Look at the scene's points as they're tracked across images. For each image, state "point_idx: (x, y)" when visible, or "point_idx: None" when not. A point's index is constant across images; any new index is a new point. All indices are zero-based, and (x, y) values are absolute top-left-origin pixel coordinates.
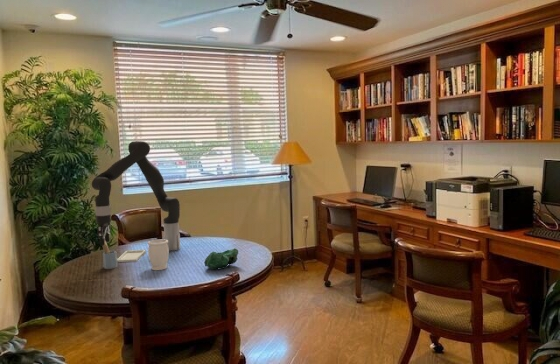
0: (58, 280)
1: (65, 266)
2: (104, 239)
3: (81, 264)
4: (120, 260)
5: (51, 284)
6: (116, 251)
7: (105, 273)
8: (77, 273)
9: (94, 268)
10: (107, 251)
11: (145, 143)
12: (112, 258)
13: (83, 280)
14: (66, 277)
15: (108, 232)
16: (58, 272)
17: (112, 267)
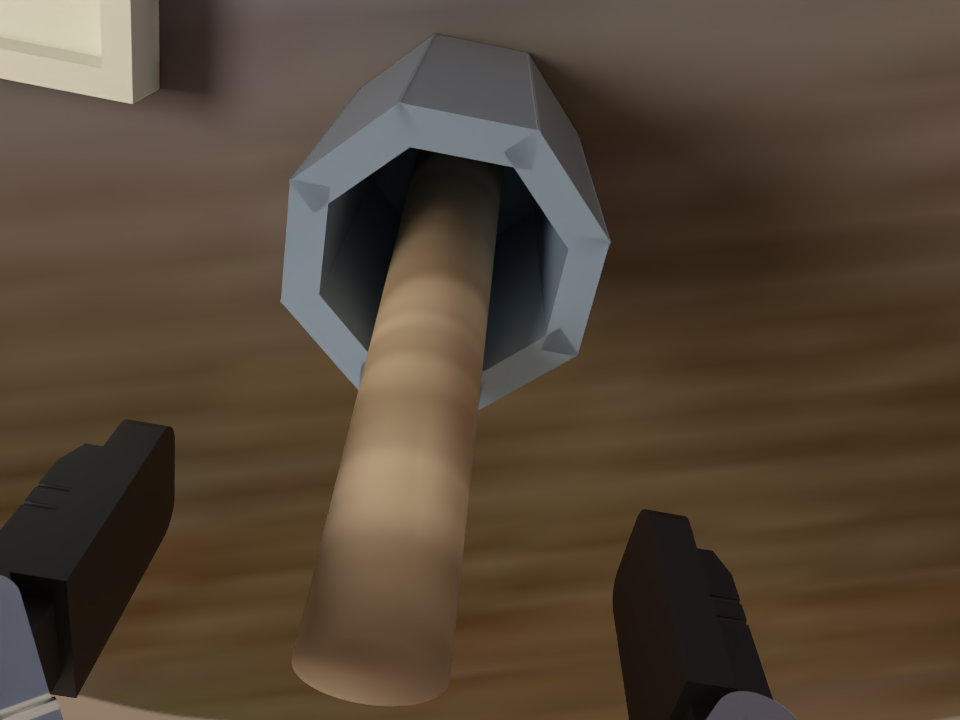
0: None
1: (183, 691)
2: (409, 613)
3: None
4: (134, 6)
5: (881, 707)
6: (402, 106)
7: (738, 208)
8: (553, 551)
9: None
10: (481, 331)
11: None
12: (576, 162)
13: (938, 452)
14: None
15: (50, 703)
16: (425, 714)
17: (566, 122)
